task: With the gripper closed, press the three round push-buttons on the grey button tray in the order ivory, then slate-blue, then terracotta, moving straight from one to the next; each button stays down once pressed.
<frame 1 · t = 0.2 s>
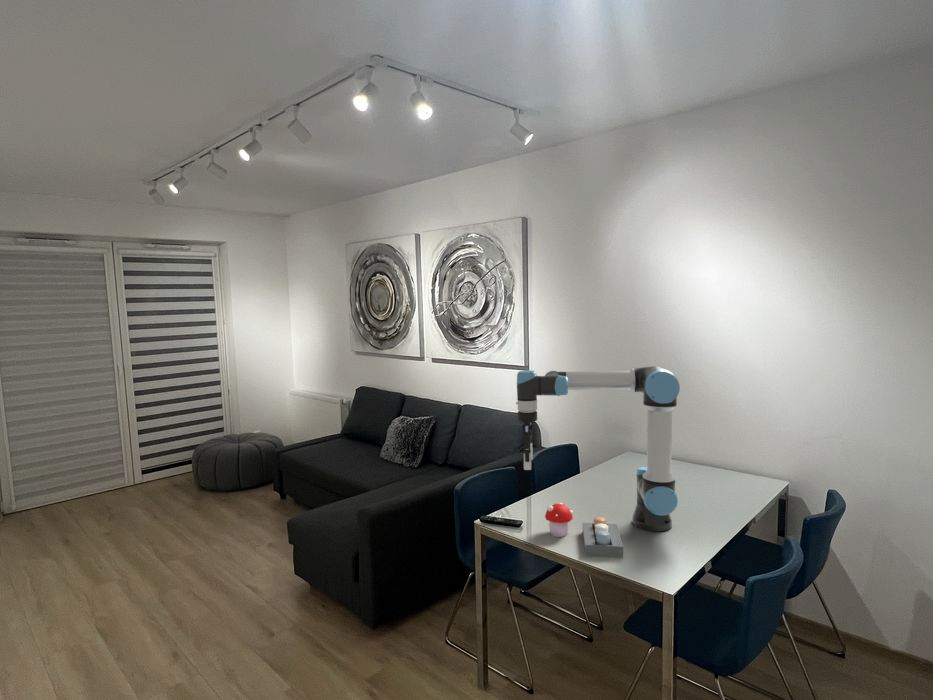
hand: (528, 464, 209), 28 cm above the table, fingers open, 13 cm apart
button ivory: (601, 532, 199), point 5 cm above the table, slide at 0.0 cm
button terracotta: (600, 524, 206), point 5 cm above the table, slide at 0.0 cm
button slate: (603, 539, 193), point 5 cm above the table, slide at 0.0 cm
mushroom: (559, 534, 210), on the table
grey button tray: (601, 544, 199), on the table
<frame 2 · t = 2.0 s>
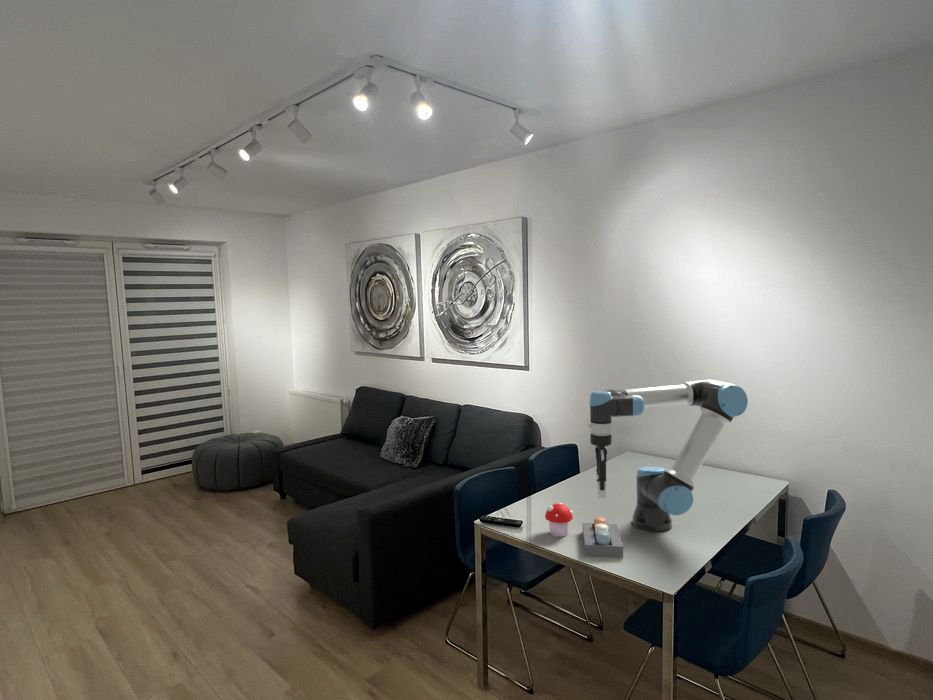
hand: (601, 495, 198), 19 cm above the table, fingers open, 4 cm apart
nothing on the table moved.
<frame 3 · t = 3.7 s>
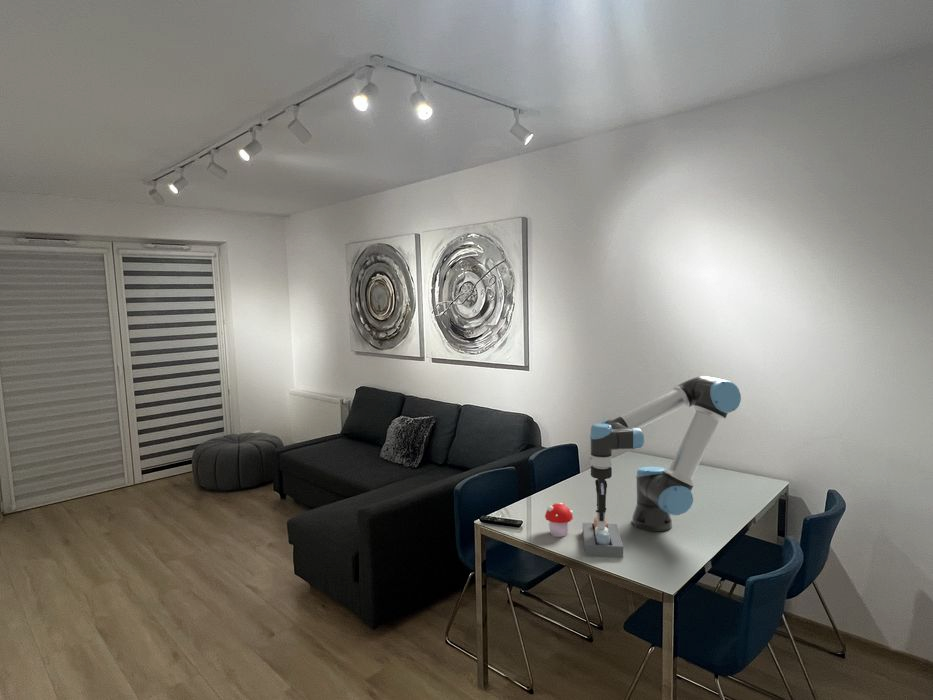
hand: (601, 528, 199), 6 cm above the table, fingers closed
button ivory: (601, 534, 199), point 4 cm above the table, slide at 1.1 cm, touching gripper
everything else where it was.
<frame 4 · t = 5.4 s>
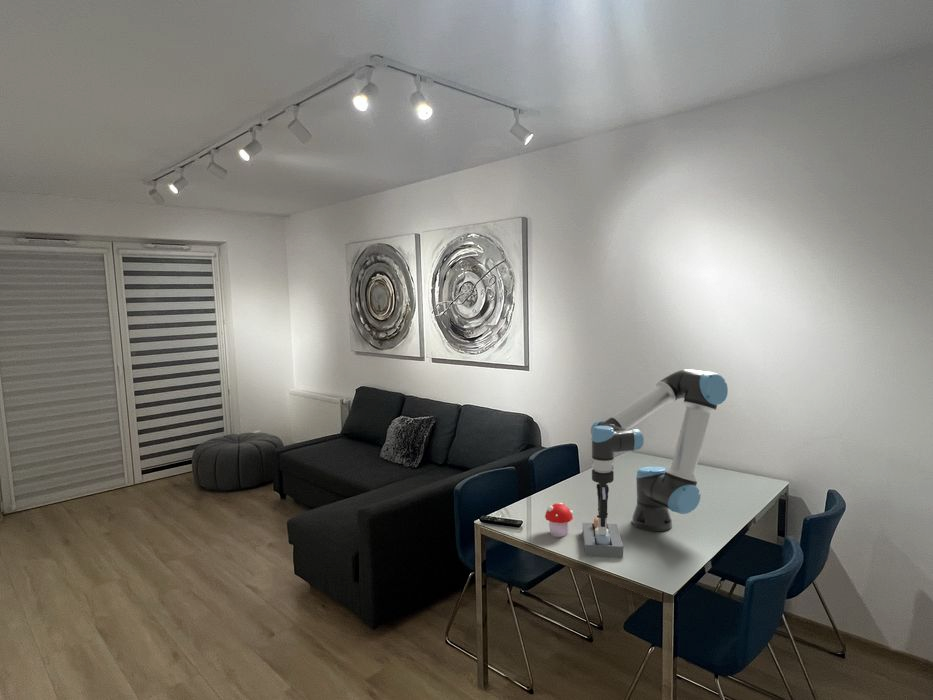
hand: (602, 534, 192), 7 cm above the table, fingers closed
button ivory: (601, 535, 199), point 3 cm above the table, slide at 1.4 cm
button slate: (603, 540, 193), point 4 cm above the table, slide at 0.4 cm, touching gripper
everything else where it was.
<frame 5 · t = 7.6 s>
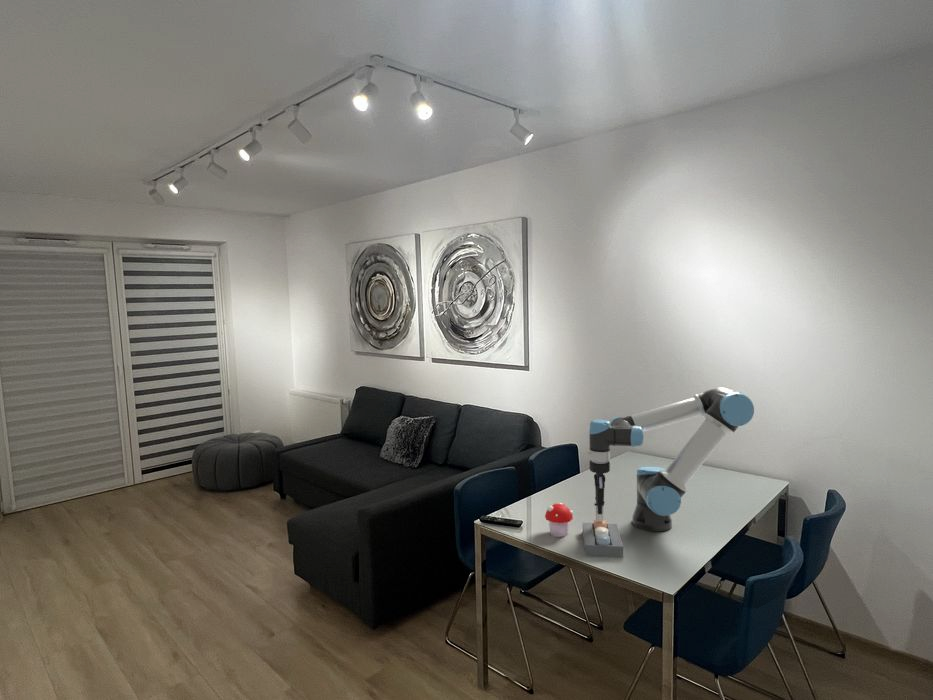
hand: (599, 521, 205), 6 cm above the table, fingers closed
button terracotta: (600, 527, 206), point 4 cm above the table, slide at 1.0 cm, touching gripper
button slate: (603, 543, 193), point 3 cm above the table, slide at 1.4 cm
everything else where it was.
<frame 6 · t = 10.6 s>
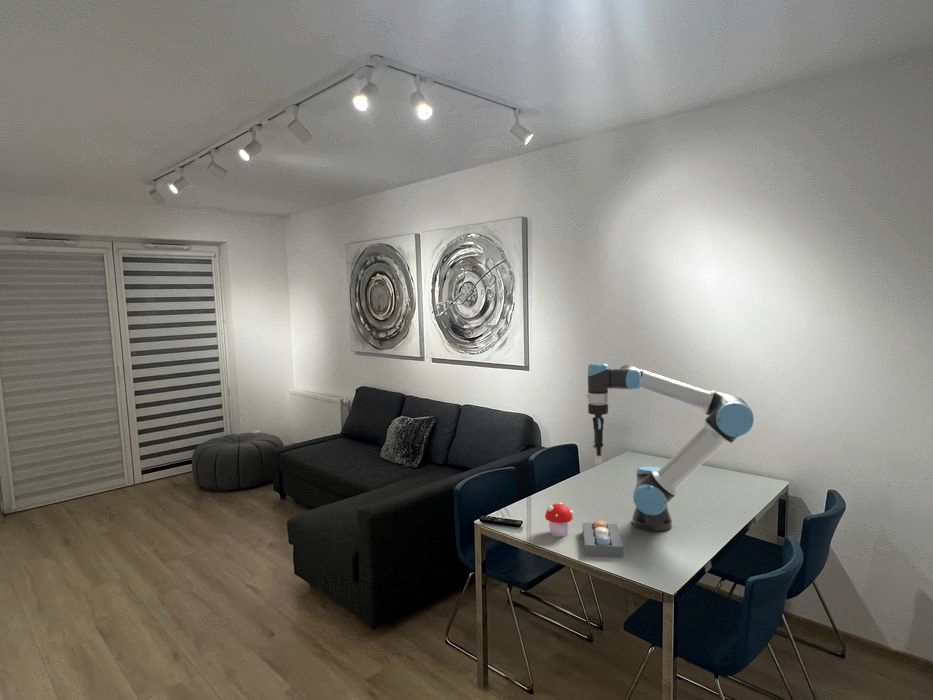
hand: (598, 463, 209), 27 cm above the table, fingers closed
button terracotta: (600, 528, 206), point 3 cm above the table, slide at 1.4 cm
everything else where it was.
at the end: button ivory slide at 1.4 cm; button slate slide at 1.4 cm; button terracotta slide at 1.4 cm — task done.
